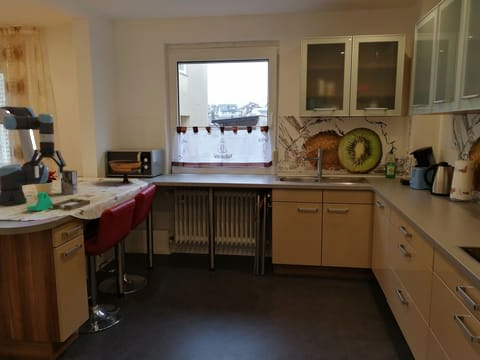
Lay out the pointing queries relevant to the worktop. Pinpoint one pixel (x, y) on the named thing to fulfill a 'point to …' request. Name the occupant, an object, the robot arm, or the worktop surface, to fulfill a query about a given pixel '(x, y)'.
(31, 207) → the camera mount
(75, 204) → the pocket tray
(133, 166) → the footed fruit bowl
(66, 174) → the coffee box
